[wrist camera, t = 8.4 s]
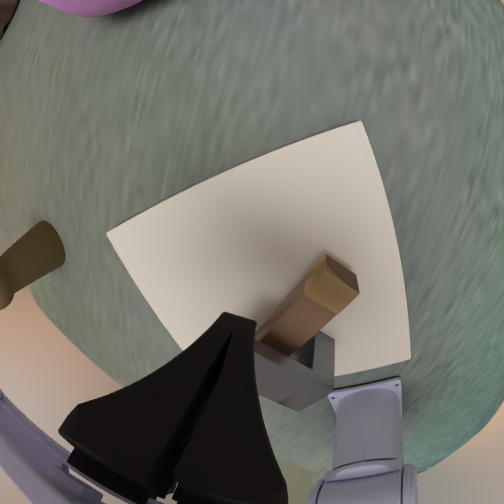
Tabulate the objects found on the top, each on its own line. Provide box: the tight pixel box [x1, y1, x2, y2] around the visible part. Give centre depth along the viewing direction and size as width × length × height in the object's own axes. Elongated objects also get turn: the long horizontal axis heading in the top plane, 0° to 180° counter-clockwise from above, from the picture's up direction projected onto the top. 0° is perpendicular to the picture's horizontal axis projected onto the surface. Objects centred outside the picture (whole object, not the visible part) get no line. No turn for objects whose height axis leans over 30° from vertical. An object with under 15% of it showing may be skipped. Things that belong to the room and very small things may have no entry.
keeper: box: [254, 330, 335, 412], centre depth 20 cm, size 10×7×5 cm
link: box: [255, 253, 360, 357], centre depth 19 cm, size 15×4×2 cm, turn 150°
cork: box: [0, 221, 65, 310], centre depth 21 cm, size 6×6×11 cm
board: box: [106, 121, 411, 376], centre depth 21 cm, size 20×21×1 cm
